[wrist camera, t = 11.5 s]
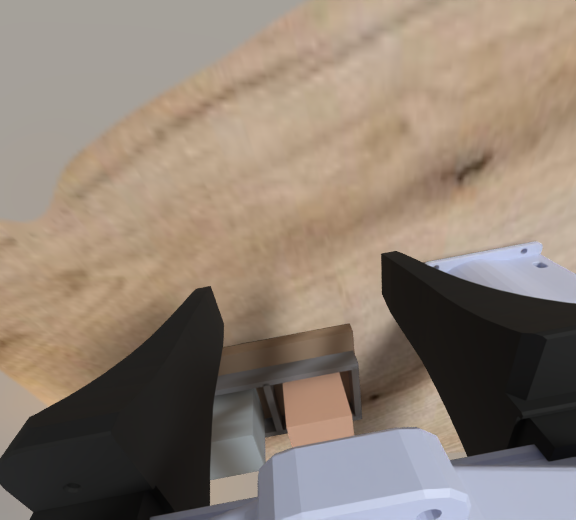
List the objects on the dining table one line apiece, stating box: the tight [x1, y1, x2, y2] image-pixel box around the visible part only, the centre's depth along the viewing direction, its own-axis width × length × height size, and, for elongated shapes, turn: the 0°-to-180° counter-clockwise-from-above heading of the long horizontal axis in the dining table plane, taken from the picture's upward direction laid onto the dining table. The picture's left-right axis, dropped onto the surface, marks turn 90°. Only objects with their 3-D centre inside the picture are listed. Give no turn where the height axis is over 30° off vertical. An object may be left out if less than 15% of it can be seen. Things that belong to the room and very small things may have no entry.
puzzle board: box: [210, 324, 362, 480], centre depth 26 cm, size 16×12×6 cm
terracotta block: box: [283, 372, 354, 448], centre depth 26 cm, size 5×5×5 cm
